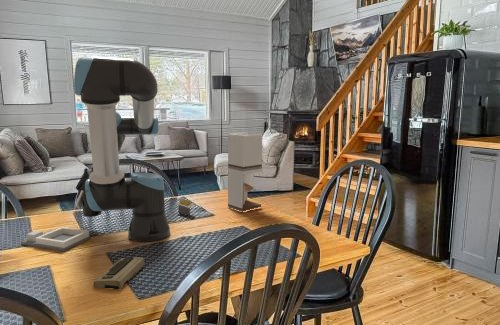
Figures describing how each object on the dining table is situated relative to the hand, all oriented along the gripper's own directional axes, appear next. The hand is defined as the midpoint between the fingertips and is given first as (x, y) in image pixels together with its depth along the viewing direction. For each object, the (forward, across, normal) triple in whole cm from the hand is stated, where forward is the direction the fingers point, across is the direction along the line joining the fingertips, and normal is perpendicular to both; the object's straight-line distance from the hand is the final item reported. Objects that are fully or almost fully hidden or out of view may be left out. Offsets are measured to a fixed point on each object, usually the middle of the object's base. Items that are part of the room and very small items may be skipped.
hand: (86, 207), depth 145 cm
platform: (-13, -29, -28) cm, 43 cm away
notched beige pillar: (-23, -54, -37) cm, 69 cm away
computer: (+30, -29, +15) cm, 45 cm away
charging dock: (+15, +6, +1) cm, 16 cm away
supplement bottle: (+1, 0, -6) cm, 6 cm away
